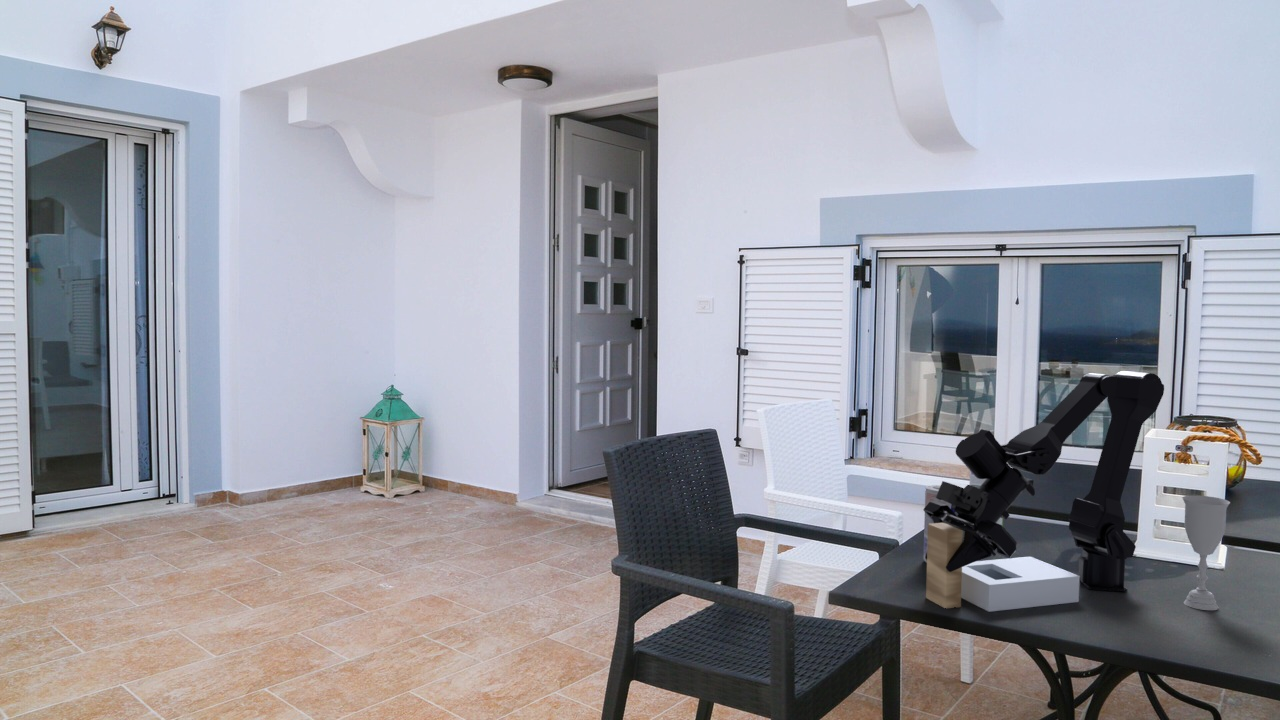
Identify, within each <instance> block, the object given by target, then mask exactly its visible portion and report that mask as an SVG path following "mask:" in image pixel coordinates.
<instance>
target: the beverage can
mask: <svg viewBox="0 0 1280 720" xmlns="http://www.w3.org/2000/svg"><path fill="white" fill-rule="evenodd" d="M940 486H941V485H927V486H925V491H924V492H925V493H924V508H925V507H926V506H927V504H928V503H929V502H932V501H937V502H940V503H942V504H945V505H948V507H949V508H950V509H951V510H952V511H953V512H954V513H955V514H956V512H955V511H954V510H953V509H952V508H951V507H952V506H953V505H952V504H950V503H948V502H946V501H944V500H939V499H937V498H936V495H937V493H938V491H939V488H940ZM932 523H934V522H933V521H932V519H931V518H930V517H929V516H928V515H927V514H926V513H925V512H924V525H923V527H924V529H923V531H924V532H923V561H924V562H925V563H926V564H927V560H926V559H925V556H926V553H927V542H928V524H932Z"/></svg>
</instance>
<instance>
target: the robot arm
mask: <svg viewBox="0 0 1280 720" xmlns="http://www.w3.org/2000/svg"><path fill="white" fill-rule="evenodd" d="M1164 392H1165V385H1164V384H1163V382H1162V380H1161V377H1159V375H1157V374H1156V373H1151V372H1144V371H1143V372H1141V371H1130V370H1120V371H1119V372H1117V373H1116V374H1113V375H1111V374H1110V375H1109V374H1106V373H1105V374H1103V373H1095V372H1089V373H1087V374H1084V375H1083V376H1082V377H1081V378H1080V381H1079V383H1078V384H1077V385H1075V387H1074V388H1073V389H1072V390H1071V391H1070V392H1069V393H1068V394H1067V395H1066V396H1065V397H1064V398H1063V399H1062V400H1061V401H1060V402H1059V403H1058V404H1057V405H1056V406H1055V407H1054V409H1053V410H1051V411H1050V412H1049V413H1048V414H1047V415H1046V417H1045V418H1044V419H1042V420H1041V421H1040V422H1039V423H1038V424H1036V425H1035V426H1034V425H1033V426H1032V427H1029V428H1026V429H1024V430H1023V431H1020V432H1019V433H1018V434H1017V435H1015V436H1013V438H1011V439H1010V440H1009V441H1008V442H1007V443H1005V444H1000V443H999V441H998V440H997V439H996V438H995V435H994V434H993V433H992V432H991V431H990V430H988V429H984V428H981V429H980V430H979V431H978V432H976V433H973V434H971V435H969V436H967V437H965V438H964V439H961V440H960V441H959V443H958V444H957V446H956V448H955V455H956V456H957V457H958V459H960V461H961V462H962V463H963V464H964V466H966V468H967V469H968V470H969V472H970V471H971V472H972V473H973V474H974V475H975V477H977V478H978V479H986V480H985V481H984V482H983V483H982V485H981V486H980V487H979V488H977V487H974V486H971V485H970V484H967V485H965V487H961V486H958V485H957V484H953V483H950V482H947V481H944V480H942V482H941V484H940V485H939V486H940V488H939V491H938V493H937V495H936V498H937V499H939V500H944V501H946V502H948V503H950V504H952V505H953V506H952V507H951V508H952V509H953V510H954V511H955V513H954V512H953V511H952V510H951V509H950V508H949V507H948V505H945V504H942V503H940V502H937V501H932V502H929V503H928V504H927V506H926V507H925V506H924V508H923V512H924V514H925V513H926V514H927V515H928V516H929V517H930V518H931V519H932V521H933V522H934V523H945V524H948V525H950V526H953V527H955V528H958V529H960V530H963V543H962V544H961V545H960V547H959V548H958V549H957V551H956V552H955V554H954V555H953V556H952V558H951V559H950V561H949V562H948V564H947V566H946V569H947V570H948V571H949V572H952V571H954V570H956V569H959V568H961V567H964V566H966V565H968V564H971V563H973V562H976V561H982V560H984V559H988V558H989V557H993V558H995V557H996V556H997V554H998V555H1000V556H1002V557H1005V558H1006V559H1008V558H1009V559H1010V558H1011V557H1012V556H1013V555H1014V554H1015V553H1016V551H1017V548H1018V547H1017V545H1018V542H1017V541H1016V540H1015V538H1014V537H1013V536H1012V535H1011V534H1010V533H1009V532H1008V531H1007V530H1006V528H1005V527H1004V525H1003V526H1002V525H1000V524H997V523H996V522H997V521H998V520H999V519H1000V518H1003V520H1007V519H1008V518H1009V517H1010V514H1009V513H1008V510H1009V508H1010V507H1011V506H1012V504H1013V503H1014V502H1015V501H1016V500H1017V498H1019V496H1020V495H1021V494H1025V495H1028V496H1032V497H1033V496H1035V495H1036V490H1035V489H1036V488H1035V487H1034V482H1035V481H1034V479H1033V478H1032V479H1031V478H1028V477H1025V475H1023V473H1021V471H1022V472H1025V473H1029V474H1033V475H1046V474H1047V473H1048V472H1049V471H1051V469H1052V468H1053V467H1054V465H1055V464H1056V462H1057V461H1058V459H1059V458H1061V456H1062V455H1061V454H1062V449H1063V445H1064V443H1065V442H1066V440H1067V439H1068V438H1069V437H1070V436H1071V435H1072V434H1073V433H1074V432H1075V431H1076V430H1077V429H1078V427H1080V426H1081V424H1082V423H1084V421H1086V420H1087V419H1088V417H1089V416H1091V415H1092V413H1093V412H1094V411H1095V410H1096V409H1097V408H1098V407H1100V405H1101V404H1102V403H1103V402H1104V401H1105V400H1107V404H1108V407H1109V411H1110V415H1111V418H1110V422H1109V425H1108V428H1107V432H1106V436H1105V439H1104V441H1103V442H1104V443H1103V447H1102V449H1101V452H1100V456H1099V460H1098V463H1097V466H1096V471H1095V474H1094V476H1093V480H1092V484H1091V488H1090V491H1089V492H1088V493H1087V494H1086V495H1085V496H1084V497H1083V498H1079V497H1076V498H1074V499H1073V502H1072V505H1071V506H1072V508H1071V511H1070V513H1069V515H1068V516H1067V520H1069V523H1068V530H1069V531H1070V533H1071V535H1072V536H1073V540H1074V543H1075V547H1076V548H1082V554H1081V555H1082V556H1079V557H1078V573H1077V575H1078V576H1080V577H1079V582H1081V583H1082V585H1084V586H1085V587H1086V588H1087V589H1089V590H1093V591H1094V590H1097V591H1114V592H1116V591H1117V592H1128V587H1127V586H1125V573H1126V572H1125V570H1126V569H1125V568H1126V560H1127V559H1128V558H1129V559H1130V558H1133V557H1134V553H1135V550H1136V544H1135V543H1134V542H1133V541H1132V539H1130V538H1129V536H1128V535H1127V534H1126V533H1125V531H1124V527H1125V520H1126V518H1125V517H1126V516H1125V513H1124V510H1123V507H1122V502H1121V500H1122V495H1123V492H1124V489H1125V486H1126V482H1127V478H1128V474H1129V471H1130V468H1131V465H1132V461H1133V457H1134V454H1135V450H1136V447H1137V444H1138V440H1139V437H1140V433H1141V430H1142V427H1143V424H1144V423H1145V422H1146V421H1147V420H1148V419H1149V418H1150V417H1151V416H1153V415H1154V414H1155V413H1156V412H1157V410H1158V408H1159V405H1160V403H1161V401H1162V399H1163V397H1164ZM956 513H957V514H956ZM995 552H997V553H995ZM925 559H926V560H927V553H926V556H925Z"/></svg>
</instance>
